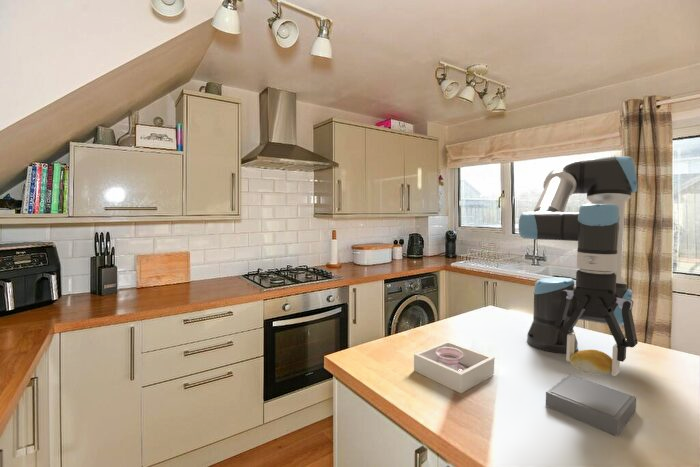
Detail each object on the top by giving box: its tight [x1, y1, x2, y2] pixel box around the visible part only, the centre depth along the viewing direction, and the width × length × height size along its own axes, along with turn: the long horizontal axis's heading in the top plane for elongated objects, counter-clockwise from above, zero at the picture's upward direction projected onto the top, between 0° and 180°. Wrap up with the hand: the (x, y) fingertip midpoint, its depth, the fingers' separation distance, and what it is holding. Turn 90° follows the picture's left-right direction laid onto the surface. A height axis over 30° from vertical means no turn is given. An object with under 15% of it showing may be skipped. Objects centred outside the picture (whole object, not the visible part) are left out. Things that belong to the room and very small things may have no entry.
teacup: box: [435, 347, 467, 371], centre depth 99 cm, size 12×12×6 cm
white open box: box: [413, 340, 495, 394], centre depth 99 cm, size 16×16×5 cm
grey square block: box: [545, 374, 637, 437], centre depth 81 cm, size 14×14×4 cm
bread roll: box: [569, 349, 612, 376], centre depth 80 cm, size 8×9×4 cm
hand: (591, 366), depth 80 cm, fingers closed on bread roll, 8 cm apart
